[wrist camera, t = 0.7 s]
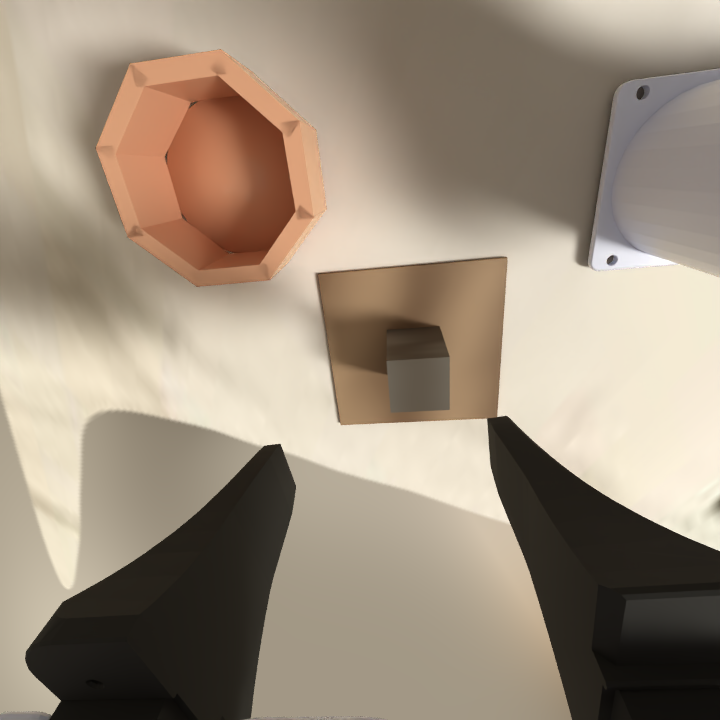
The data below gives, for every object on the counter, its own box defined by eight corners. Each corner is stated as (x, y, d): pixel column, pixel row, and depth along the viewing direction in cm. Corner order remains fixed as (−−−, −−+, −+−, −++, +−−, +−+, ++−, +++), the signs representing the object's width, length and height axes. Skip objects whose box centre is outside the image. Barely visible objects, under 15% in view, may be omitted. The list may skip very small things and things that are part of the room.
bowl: (310, 69, 17) (287, 38, 13) (335, 254, 21) (323, 275, 17) (139, 94, 18) (68, 72, 14) (192, 268, 21) (147, 291, 17)
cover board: (503, 255, 20) (533, 277, 16) (493, 410, 25) (515, 461, 21) (320, 271, 22) (303, 296, 17) (342, 417, 26) (332, 467, 22)
